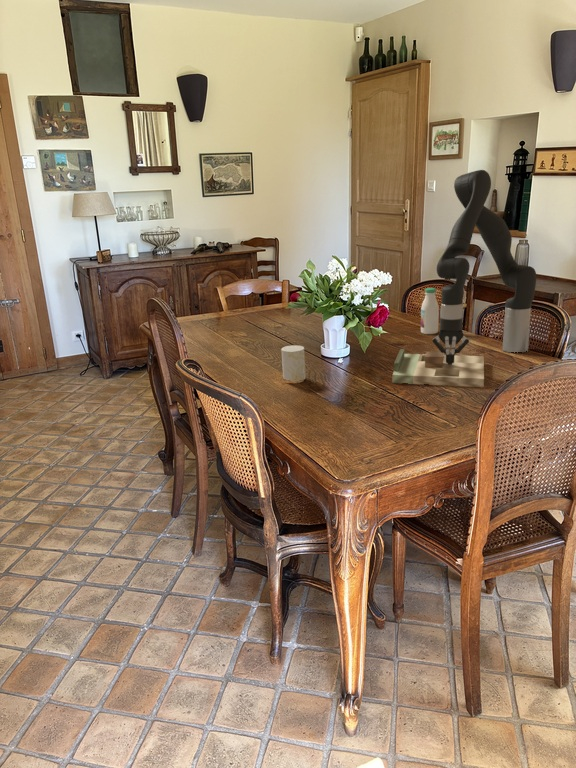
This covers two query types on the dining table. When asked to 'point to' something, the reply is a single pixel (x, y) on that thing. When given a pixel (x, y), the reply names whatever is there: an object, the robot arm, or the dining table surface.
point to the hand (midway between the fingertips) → (449, 363)
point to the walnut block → (434, 359)
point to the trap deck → (439, 371)
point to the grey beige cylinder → (293, 363)
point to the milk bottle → (429, 312)
